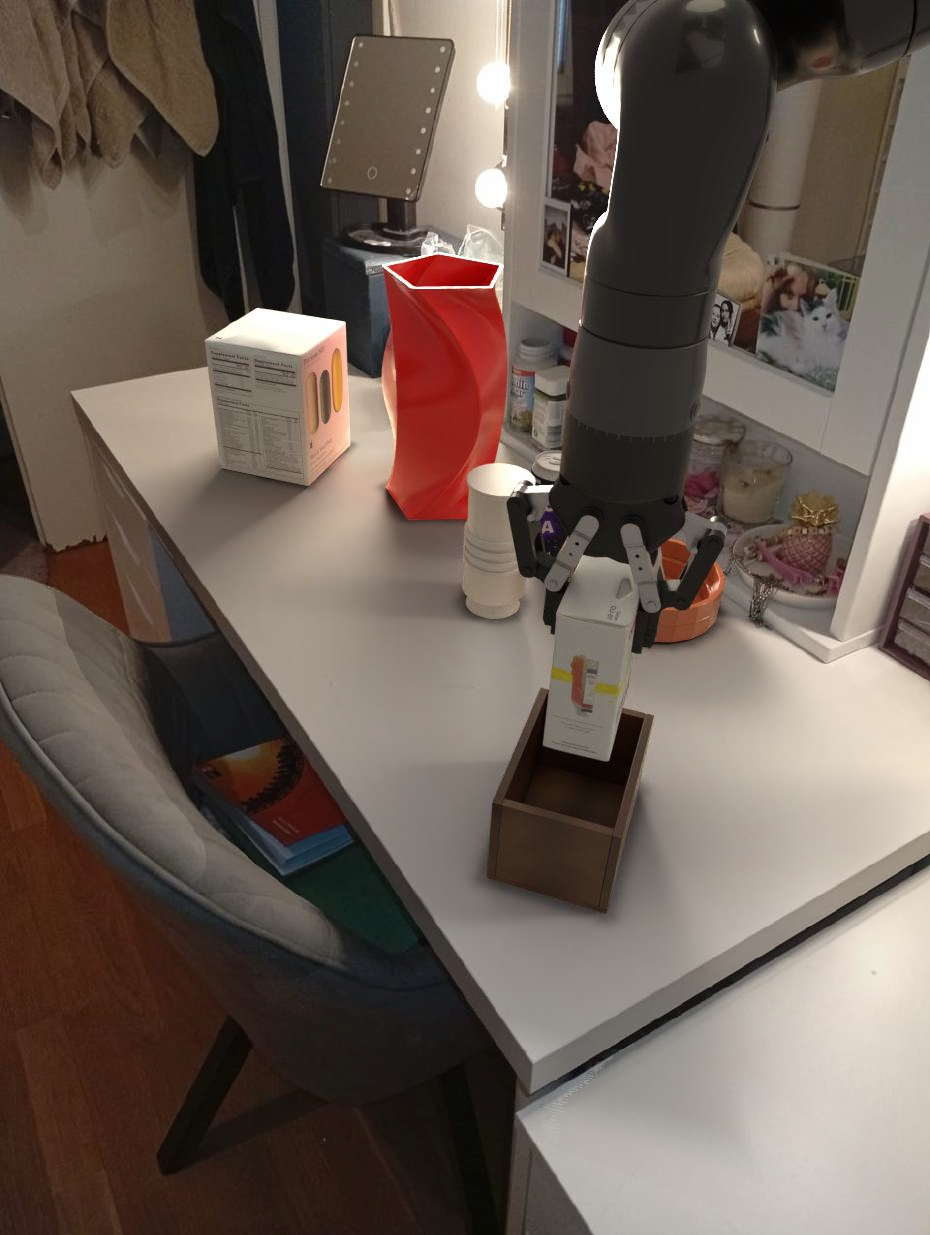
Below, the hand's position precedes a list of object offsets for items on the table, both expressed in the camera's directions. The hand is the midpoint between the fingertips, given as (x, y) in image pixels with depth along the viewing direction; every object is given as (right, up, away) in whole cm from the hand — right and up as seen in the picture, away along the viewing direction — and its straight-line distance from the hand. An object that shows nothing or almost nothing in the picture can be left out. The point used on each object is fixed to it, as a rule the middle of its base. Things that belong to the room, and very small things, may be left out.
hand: (597, 636), depth 63 cm
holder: (-1, -16, +12) cm, 20 cm away
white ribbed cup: (-6, +3, +37) cm, 38 cm away
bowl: (+11, +3, +38) cm, 39 cm away
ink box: (0, -6, +5) cm, 8 cm away
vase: (-13, +17, +56) cm, 60 cm away
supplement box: (-33, +23, +62) cm, 74 cm away
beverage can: (+1, +9, +46) cm, 46 cm away
